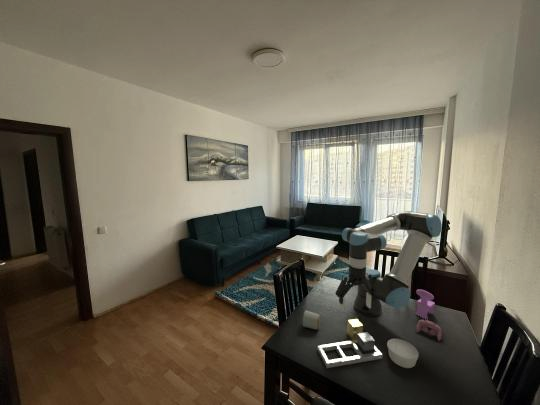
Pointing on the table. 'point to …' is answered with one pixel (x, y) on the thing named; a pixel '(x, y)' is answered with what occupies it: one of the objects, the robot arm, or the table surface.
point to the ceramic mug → (311, 320)
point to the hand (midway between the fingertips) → (355, 308)
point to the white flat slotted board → (344, 359)
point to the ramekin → (402, 353)
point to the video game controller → (433, 326)
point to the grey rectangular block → (365, 343)
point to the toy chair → (424, 303)
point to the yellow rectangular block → (354, 328)
